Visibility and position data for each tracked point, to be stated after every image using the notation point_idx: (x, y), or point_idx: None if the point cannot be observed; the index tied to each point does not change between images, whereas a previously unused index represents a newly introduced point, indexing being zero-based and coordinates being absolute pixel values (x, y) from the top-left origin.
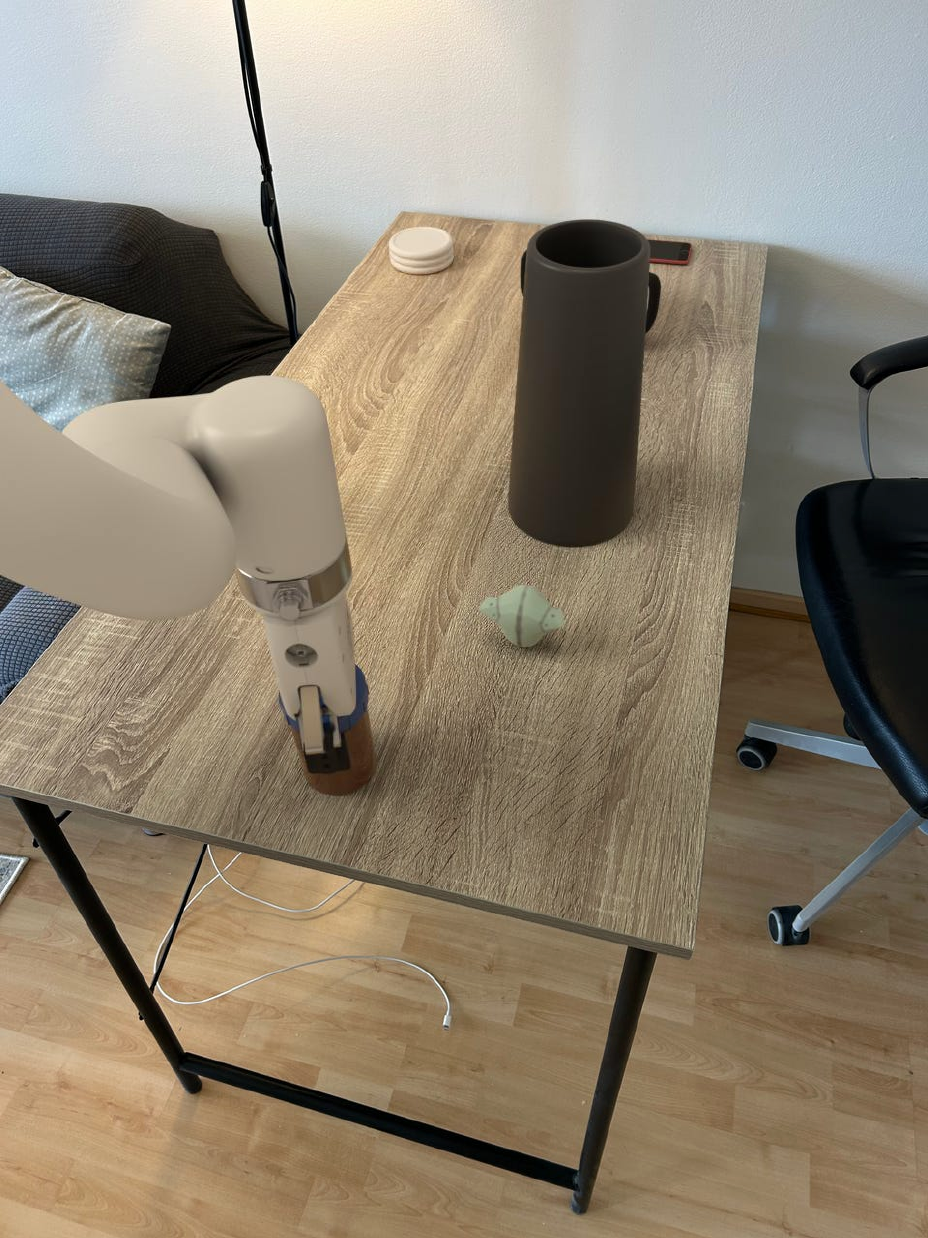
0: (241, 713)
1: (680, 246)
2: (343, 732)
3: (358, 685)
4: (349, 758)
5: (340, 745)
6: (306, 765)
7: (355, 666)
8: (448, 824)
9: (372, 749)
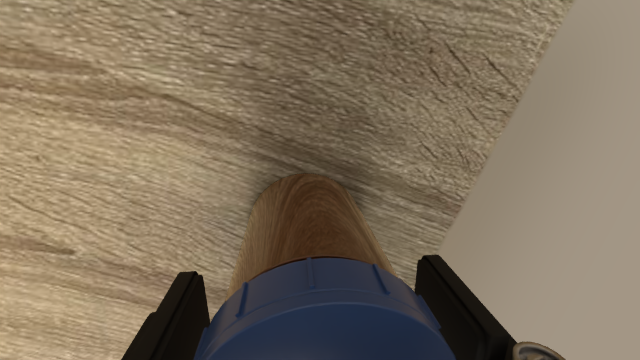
0: None
1: None
2: None
3: (334, 327)
4: (441, 267)
5: (562, 358)
6: None
7: (237, 340)
8: (439, 63)
9: (324, 191)
